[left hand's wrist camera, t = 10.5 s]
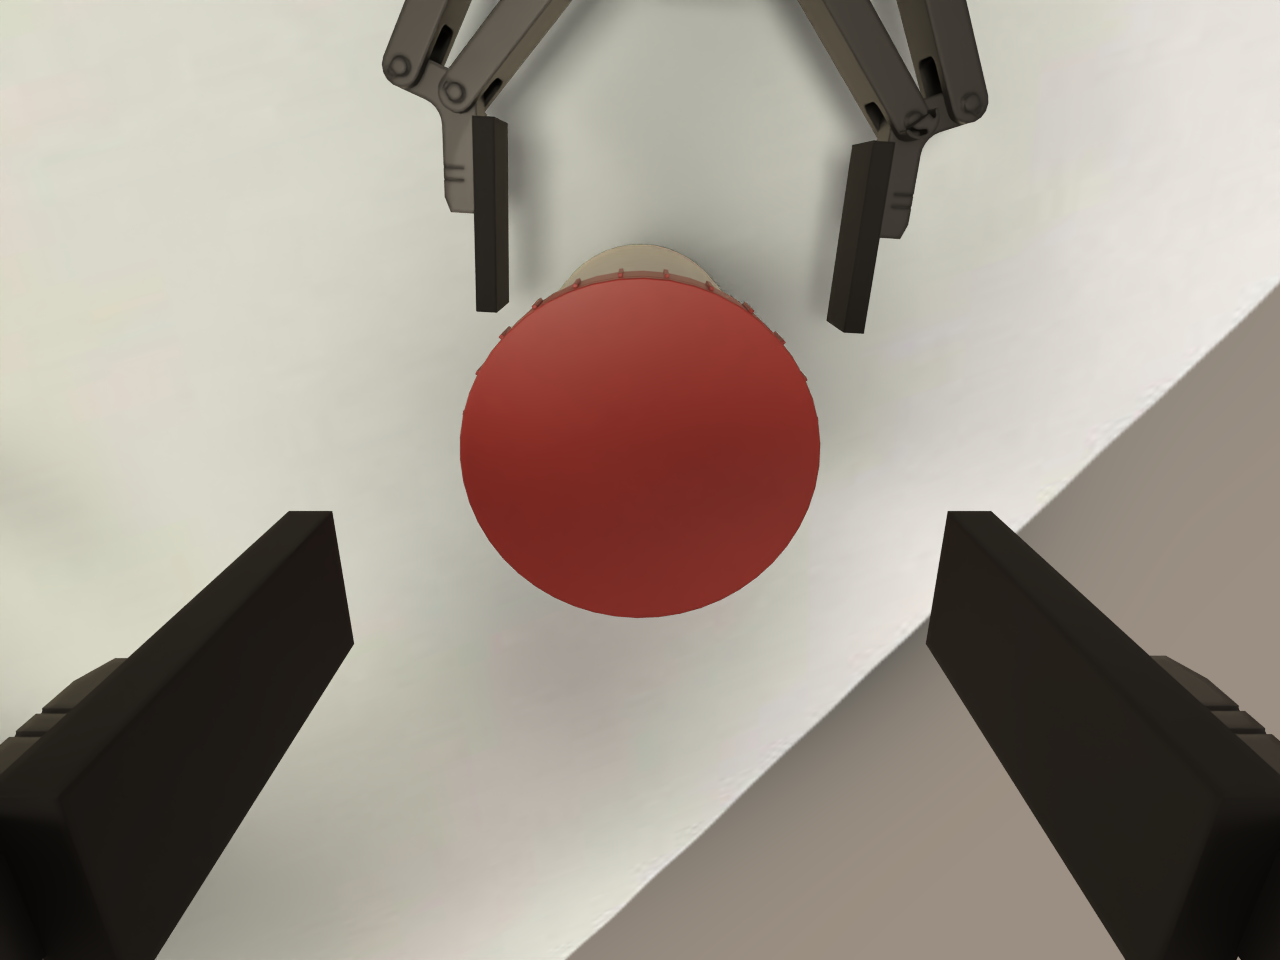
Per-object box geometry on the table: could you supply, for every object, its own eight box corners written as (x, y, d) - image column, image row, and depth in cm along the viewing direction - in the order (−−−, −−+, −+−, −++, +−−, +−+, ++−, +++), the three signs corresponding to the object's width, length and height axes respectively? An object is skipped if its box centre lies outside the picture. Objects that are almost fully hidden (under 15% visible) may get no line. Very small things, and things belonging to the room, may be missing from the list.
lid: (459, 264, 19) (442, 271, 17) (827, 271, 19) (844, 279, 17) (481, 586, 22) (468, 617, 21) (792, 591, 22) (804, 622, 21)
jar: (546, 242, 33) (465, 286, 18) (736, 246, 33) (820, 293, 18) (551, 424, 36) (485, 597, 21) (725, 428, 36) (788, 602, 21)
